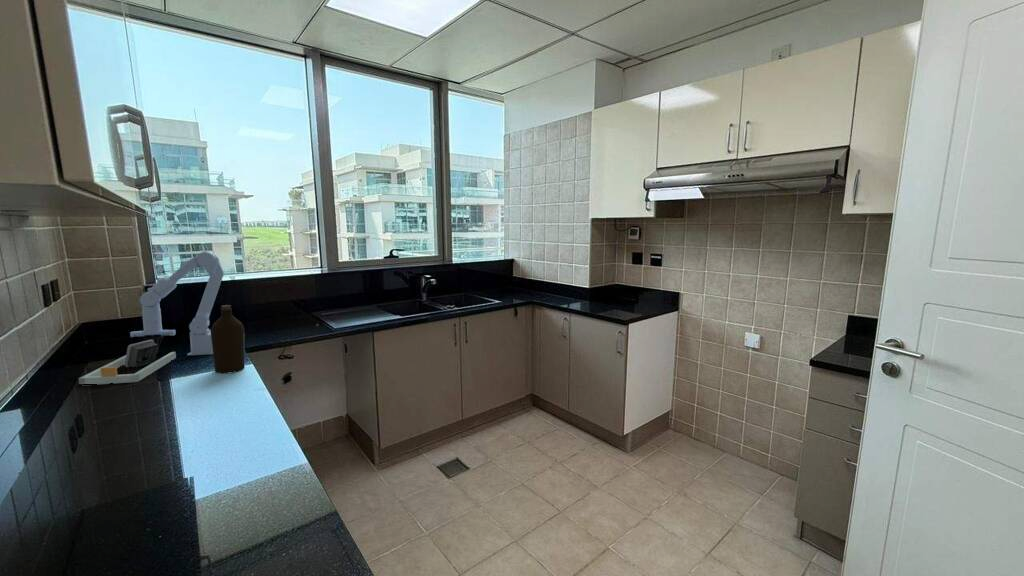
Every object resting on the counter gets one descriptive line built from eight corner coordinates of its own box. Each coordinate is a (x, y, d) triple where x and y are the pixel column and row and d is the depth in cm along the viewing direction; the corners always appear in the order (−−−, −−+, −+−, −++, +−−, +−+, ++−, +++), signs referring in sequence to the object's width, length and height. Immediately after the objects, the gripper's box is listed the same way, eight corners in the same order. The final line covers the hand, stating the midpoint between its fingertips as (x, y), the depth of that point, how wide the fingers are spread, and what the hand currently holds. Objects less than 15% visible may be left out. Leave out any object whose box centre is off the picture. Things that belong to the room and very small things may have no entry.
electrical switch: (148, 360, 168) (148, 338, 166) (159, 362, 167) (159, 340, 166) (124, 367, 159) (123, 344, 157) (135, 370, 158) (135, 346, 157)
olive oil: (223, 376, 153) (219, 309, 150) (207, 371, 158) (202, 306, 154) (252, 368, 162) (249, 305, 159) (236, 363, 167) (232, 302, 164)
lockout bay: (175, 357, 172) (174, 344, 171) (137, 381, 145) (136, 366, 144) (128, 360, 167) (127, 347, 166) (79, 385, 140) (77, 369, 139)
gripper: (177, 318, 176) (180, 349, 178) (136, 319, 171) (138, 351, 173) (170, 321, 169) (172, 353, 171) (126, 322, 165) (129, 356, 166)
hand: (154, 352), depth 172 cm, fingers closed
